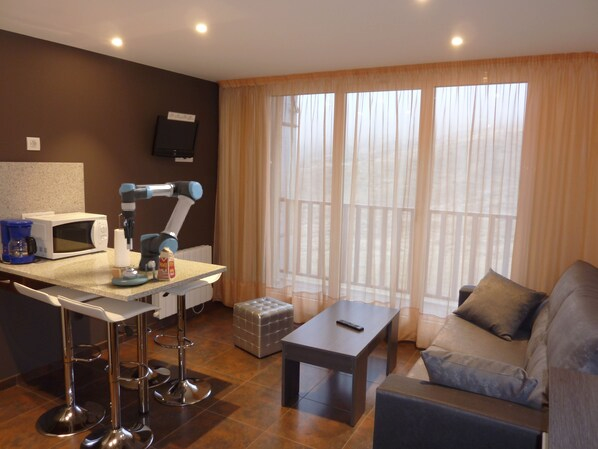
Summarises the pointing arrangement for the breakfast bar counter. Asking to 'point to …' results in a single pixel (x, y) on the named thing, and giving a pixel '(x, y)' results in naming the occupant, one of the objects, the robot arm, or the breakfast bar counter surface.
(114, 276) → the turntable
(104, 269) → the breakfast bar counter surface
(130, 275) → the cover
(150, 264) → the dial indicator
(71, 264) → the breakfast bar counter surface
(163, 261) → the milk carton
